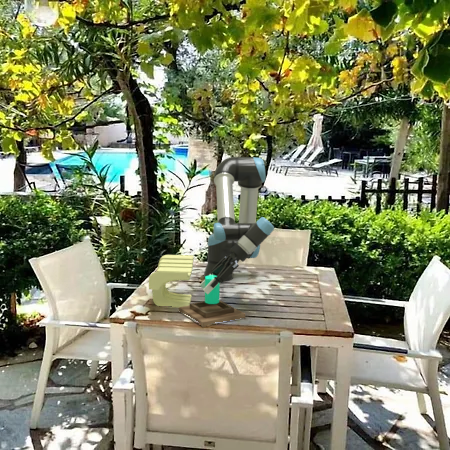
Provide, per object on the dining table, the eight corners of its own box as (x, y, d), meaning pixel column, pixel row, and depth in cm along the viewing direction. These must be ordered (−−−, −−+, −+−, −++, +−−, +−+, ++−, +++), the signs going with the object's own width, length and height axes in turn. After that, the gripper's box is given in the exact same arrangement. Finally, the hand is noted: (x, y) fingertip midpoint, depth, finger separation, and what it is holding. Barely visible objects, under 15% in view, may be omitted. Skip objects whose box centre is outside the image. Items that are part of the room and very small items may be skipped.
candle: (204, 299, 213) (204, 271, 211) (218, 299, 213) (219, 271, 211) (205, 304, 207) (205, 275, 205) (219, 304, 207) (220, 275, 205)
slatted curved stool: (159, 291, 242) (159, 254, 238) (193, 292, 241) (193, 255, 238) (148, 313, 212) (148, 271, 209) (187, 314, 212) (187, 272, 209)
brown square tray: (178, 311, 214) (178, 302, 214) (219, 304, 225) (219, 295, 224) (202, 327, 198) (203, 317, 197) (245, 318, 209) (245, 308, 208)
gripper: (256, 260, 202) (215, 302, 200) (242, 250, 220) (204, 288, 218) (243, 247, 199) (202, 290, 198) (230, 238, 217) (192, 277, 216)
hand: (203, 289), depth 208 cm, fingers closed on candle, 6 cm apart
